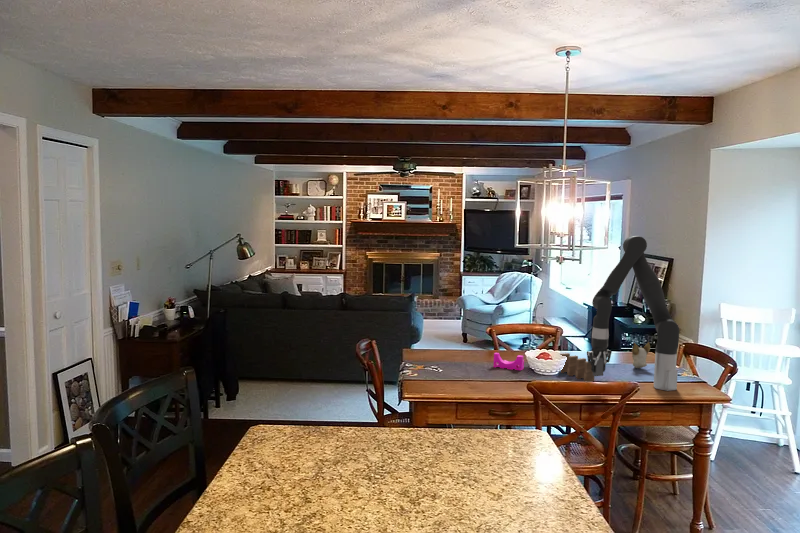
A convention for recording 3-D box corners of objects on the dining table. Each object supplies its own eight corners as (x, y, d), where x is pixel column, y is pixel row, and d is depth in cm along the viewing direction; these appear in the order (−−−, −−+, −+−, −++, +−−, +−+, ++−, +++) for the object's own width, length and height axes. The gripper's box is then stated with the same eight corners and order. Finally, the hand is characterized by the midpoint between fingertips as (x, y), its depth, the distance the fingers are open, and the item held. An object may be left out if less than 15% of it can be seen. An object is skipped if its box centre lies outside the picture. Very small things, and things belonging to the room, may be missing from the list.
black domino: (603, 375, 274) (604, 355, 274) (595, 376, 272) (596, 355, 272) (600, 374, 276) (601, 354, 275) (592, 375, 274) (593, 355, 273)
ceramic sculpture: (641, 366, 313) (642, 339, 311) (652, 370, 304) (653, 342, 303) (624, 367, 310) (626, 340, 309) (634, 371, 302) (636, 343, 300)
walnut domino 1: (569, 372, 296) (569, 353, 296) (561, 373, 294) (562, 354, 293) (567, 371, 298) (567, 352, 297) (559, 372, 296) (560, 353, 295)
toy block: (523, 368, 304) (524, 354, 303) (521, 371, 298) (522, 357, 297) (496, 365, 310) (496, 351, 309) (493, 367, 304) (493, 353, 303)
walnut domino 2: (577, 375, 291) (577, 356, 290) (569, 376, 289) (570, 356, 288) (574, 374, 292) (575, 355, 292) (567, 375, 290) (568, 356, 289)
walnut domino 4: (594, 381, 280) (595, 361, 279) (586, 382, 278) (587, 362, 277) (591, 380, 281) (592, 360, 281) (584, 381, 279) (584, 361, 279)
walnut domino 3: (585, 378, 285) (586, 358, 285) (577, 379, 283) (578, 359, 283) (583, 377, 287) (584, 358, 286) (575, 378, 285) (576, 358, 284)
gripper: (594, 339, 266) (592, 375, 268) (617, 337, 272) (615, 372, 273) (583, 336, 273) (581, 371, 274) (605, 334, 279) (603, 368, 280)
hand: (598, 371), depth 274 cm, fingers closed on black domino, 5 cm apart
